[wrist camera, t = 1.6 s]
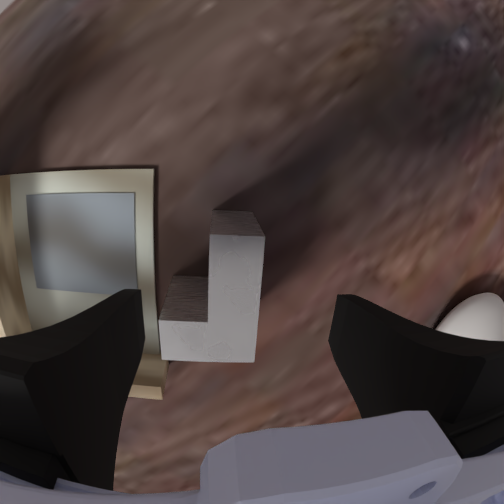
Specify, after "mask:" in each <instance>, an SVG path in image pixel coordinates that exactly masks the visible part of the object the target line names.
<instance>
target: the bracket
mask: <svg viewBox="0 0 504 504" xmlns="http://www.w3.org/2000/svg"><path fill="white" fill-rule="evenodd" d="M264 247H265V235H264V233H263V231H262V229H261V228H260V226H259V224H258V222H257V220H256V218H255V216H254V214H253V212H249V211H227V210H212V219H211V228H210V246H209V277H204V276H177V275H173V277H172V280H171V283H170V286H169V289H168V292H167V295H166V298H165V301H164V304H163V308H162V311H161V314H160V317H159V333H160V345H161V356H162V360H178V361H200V362H254V359H255V348H256V337H257V326H258V315H259V304H260V293H261V282H262V270H263V259H264Z"/></svg>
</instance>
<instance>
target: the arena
mask: <svg viewBox="0 0 504 504" xmlns="http://www.w3.org/2000/svg"><path fill="white" fill-rule="evenodd" d="M123 289H140V290H141V294H142V306H143V318H144V328H145V343H144V348H143V353H142V358H141V361H140V364H139V367H138V370H137V373H136V376H135V378H134V381H133V384H132V387H131V390H130V393H129V395H128V396H129V397H139V398H149V399H161V400H163V394H164V388H165V383H166V377H167V372H168V367H169V361H168V360H162V356H161V352H160V346H159V334H158V321H157V307H156V289H155V265H154V169H94V170H69V171H51V172H36V173H23V174H11V175H1V176H0V337H7V336H13V335H18V334H23V333H27V332H31V331H34V330H38V329H41V328H45V327H48V326H51V325H54V324H56V323H59V322H61V321H64V320H66V319H68V318H71V317H73V316H75V315H77V314H79V313H81V312H82V311H84V310H86V309H88V308H90V307H92V306H94V305H96V304H97V303H99V302H101V301H103V300H104V299H106V298H108V297H110V296H111V295H113V294H115V293H117V292H119V291H121V290H123Z"/></svg>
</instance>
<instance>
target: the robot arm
mask: <svg viewBox="0 0 504 504" xmlns="http://www.w3.org/2000/svg"><path fill="white" fill-rule="evenodd" d="M328 341H329V344H330V348H331V351H332V354H333V357H334V360H335V362H336V364H337V366H338V368H339V371H340V373H341V375H342V377H343V378H344V380H345V382H346V384H347V386H348V388H349V390H350V392H351V394H352V396H353V398H354V400H355V402H356V404H357V407H358V409H359V411H360V414H361V417H362V419H357V420H351V421H344V422H336V423H328V424H319V425H310V426H298V427H285V428H269V429H264V430H259V431H253V432H248V433H242V434H237V435H235V436H233V437H231V438H230V439H228V440H226V441H224V442H222V443H221V444H219V445H217V446H215V447H213V448H211V449H209V450H208V452H207V454H206V456H205V458H204V460H203V462H202V465H201V467H200V490H191V491H181V492H168V493H150V494H128V493H122V492H116V491H113V481H114V470H115V460H116V452H117V445H118V438H119V432H120V426H121V421H122V416H123V411H124V408H125V404H126V401H127V398H128V395H129V393H130V390H131V387H132V384H133V381H134V378H135V376H136V373H137V370H138V367H139V364H140V361H141V358H142V353H143V348H144V343H145V328H144V318H143V306H142V294H141V290H140V289H123V290H121V291H119V292H117V293H115V294H113V295H111V296H110V297H108V298H106V299H104V300H103V301H101V302H99V303H97V304H96V305H94V306H92V307H90V308H88V309H86V310H84V311H82V312H81V313H79V314H77V315H75V316H73V317H71V318H68V319H66V320H64V321H61V322H59V323H56V324H54V325H51V326H48V327H45V328H41V329H38V330H34V331H31V332H27V333H23V334H18V335H13V336H7V337H0V504H504V341H490V340H481V339H473V338H467V337H462V336H457V335H453V334H449V333H445V332H441V331H438V330H435V329H432V328H429V327H426V326H423V325H420V324H418V323H415V322H413V321H410V320H408V319H406V318H403V317H401V316H399V315H397V314H395V313H393V312H391V311H388V310H386V309H384V308H382V307H380V306H378V305H376V304H374V303H372V302H370V301H368V300H366V299H364V298H361V297H359V296H356V295H352V294H346V295H337V300H336V305H335V311H334V316H333V321H332V325H331V330H330V335H329V340H328Z"/></svg>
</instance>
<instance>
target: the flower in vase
mask: <svg viewBox="0 0 504 504" xmlns="http://www.w3.org/2000/svg"><path fill="white" fill-rule="evenodd" d="M435 330H438V331H441V332H445V333H449V334H453V335H457V336H462V337H467V338H473V339H481V340H490V341H504V302H503V301H502V299H501V298H500V297H499V296H498V295H496V294H494V293H481V294H477V295H474V296H471V297H469V298H467V299H465V300H464V301H462V302H461V303H459V304H458V305H457V306H456V307H455V308H453V309H452V310H451V311H450V312H449V313H448V314H447V315H446V316H445V318H444V319H443V320H442V321H441V322H440V324H439V325H438V326H437V328H436V329H435Z"/></svg>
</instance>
